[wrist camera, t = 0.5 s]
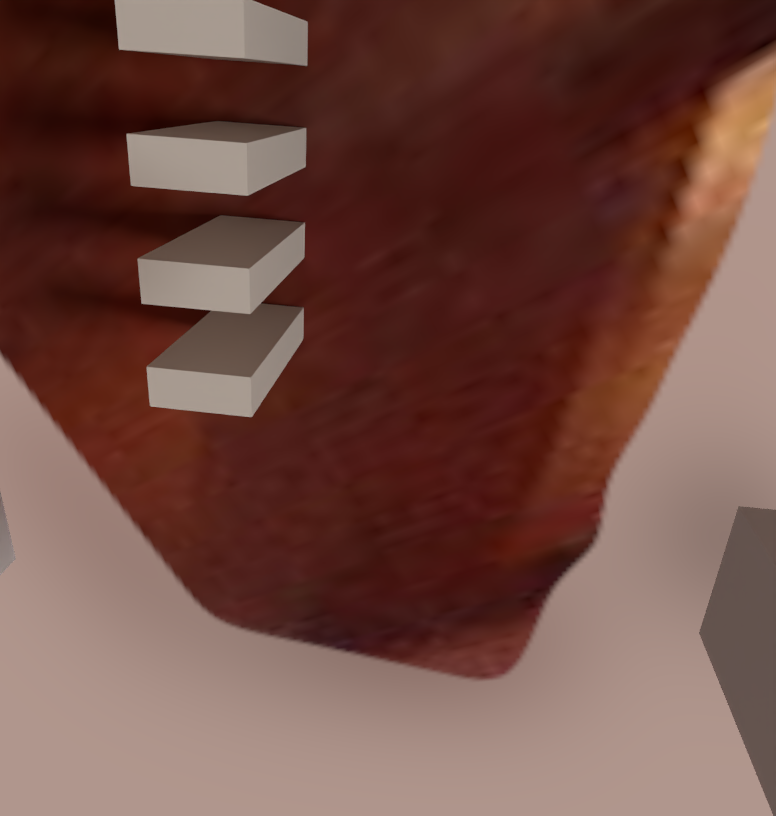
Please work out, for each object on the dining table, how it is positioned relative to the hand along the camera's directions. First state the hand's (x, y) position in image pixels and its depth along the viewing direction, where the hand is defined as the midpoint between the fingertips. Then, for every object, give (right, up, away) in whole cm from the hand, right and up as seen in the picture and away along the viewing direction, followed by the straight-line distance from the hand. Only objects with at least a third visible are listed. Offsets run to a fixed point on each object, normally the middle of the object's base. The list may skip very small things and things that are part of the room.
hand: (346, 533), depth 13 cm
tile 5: (-6, +11, +24) cm, 27 cm away
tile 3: (-5, +19, +20) cm, 28 cm away
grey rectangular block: (-6, +7, +26) cm, 27 cm away
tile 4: (-5, +15, +22) cm, 27 cm away
